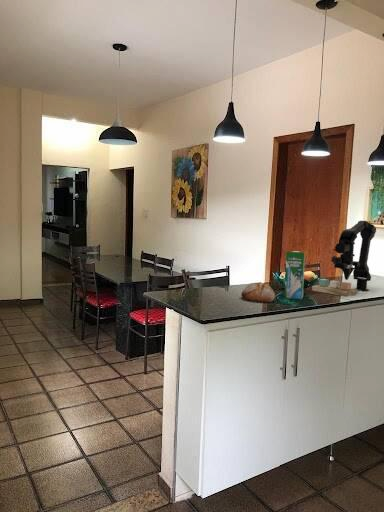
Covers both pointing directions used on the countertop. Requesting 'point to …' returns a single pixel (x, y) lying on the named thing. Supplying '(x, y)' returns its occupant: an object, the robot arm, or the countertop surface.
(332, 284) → the key ivory
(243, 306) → the countertop surface
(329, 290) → the wooden cutting board
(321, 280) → the key teal
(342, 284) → the key terracotta
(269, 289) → the bread
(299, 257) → the milk carton
